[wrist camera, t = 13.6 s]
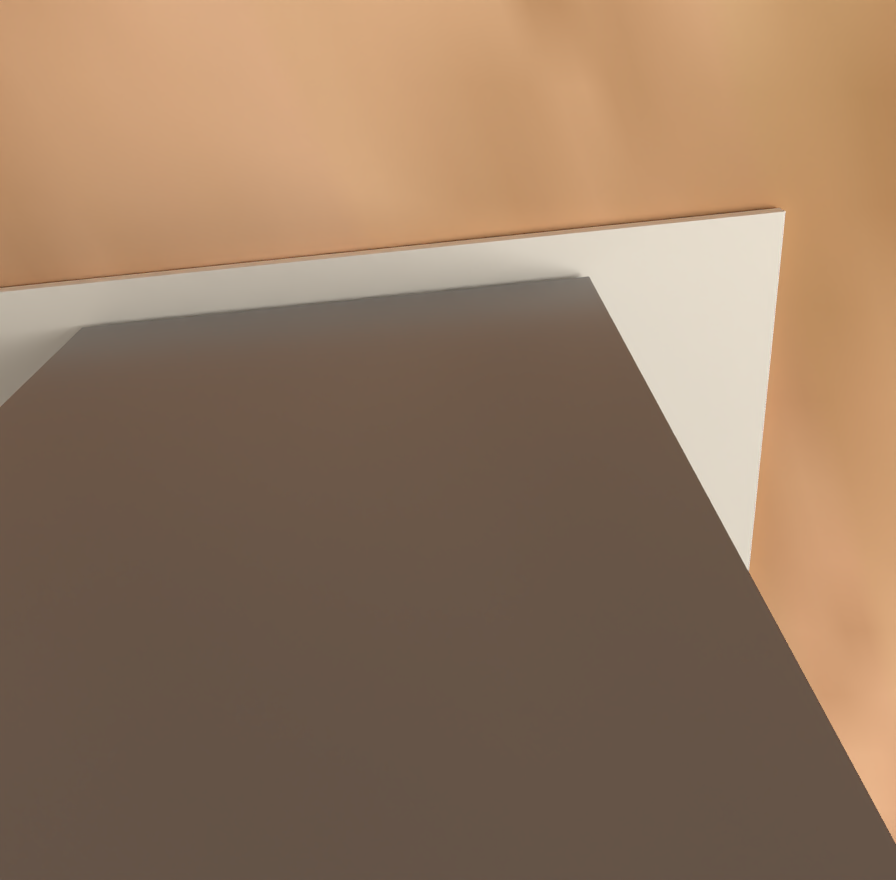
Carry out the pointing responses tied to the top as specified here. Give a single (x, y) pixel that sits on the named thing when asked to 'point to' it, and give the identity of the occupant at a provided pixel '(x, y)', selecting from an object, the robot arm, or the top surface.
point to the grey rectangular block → (391, 613)
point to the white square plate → (501, 263)
